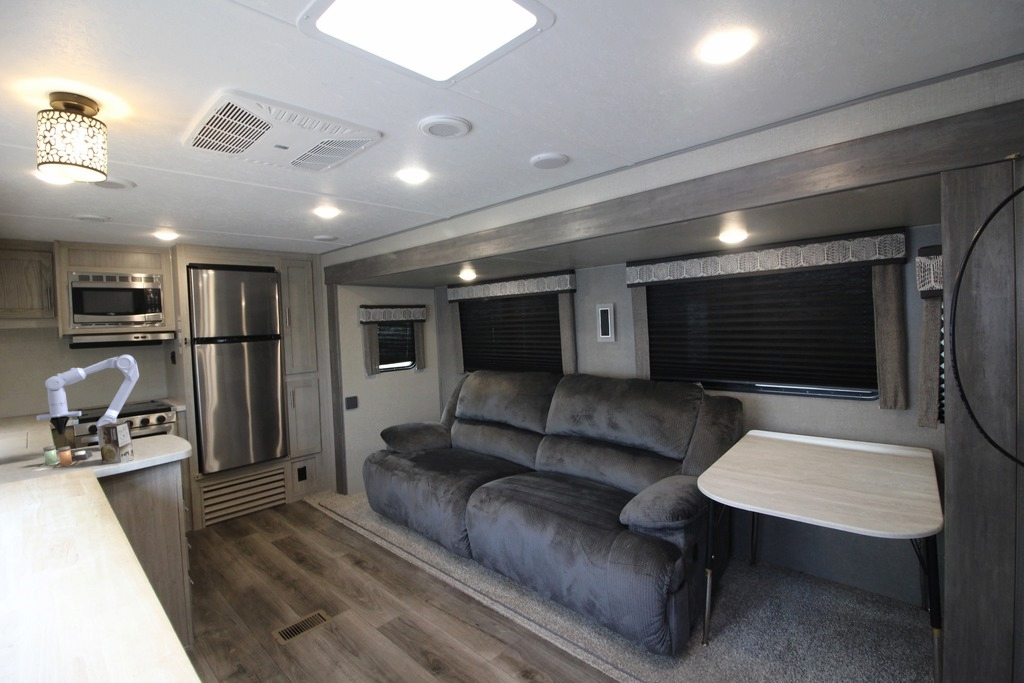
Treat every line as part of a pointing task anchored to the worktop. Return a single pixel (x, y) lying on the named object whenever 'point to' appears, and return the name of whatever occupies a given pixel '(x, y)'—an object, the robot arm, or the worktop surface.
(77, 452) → the button
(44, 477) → the worktop surface
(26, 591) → the worktop surface
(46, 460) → the green jar
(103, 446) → the coffee box
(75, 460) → the picture board
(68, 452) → the orange jar
